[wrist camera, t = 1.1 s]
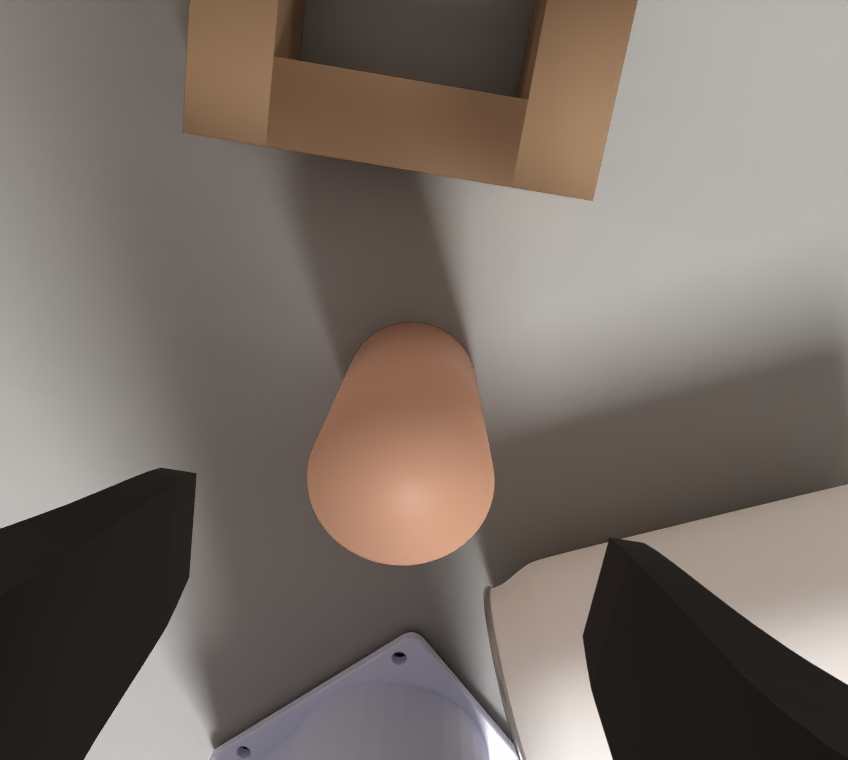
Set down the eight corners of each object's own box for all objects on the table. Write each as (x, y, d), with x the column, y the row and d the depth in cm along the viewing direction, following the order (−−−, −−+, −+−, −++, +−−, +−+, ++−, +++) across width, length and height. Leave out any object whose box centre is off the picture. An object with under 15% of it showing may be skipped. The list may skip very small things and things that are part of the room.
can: (831, 468, 23) (483, 554, 24) (957, 489, 16) (473, 604, 18) (892, 661, 22) (533, 739, 24) (1046, 761, 16) (541, 859, 17)
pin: (398, 468, 22) (381, 596, 15) (321, 371, 21) (268, 462, 14) (501, 399, 21) (530, 502, 15) (426, 295, 20) (421, 356, 14)
